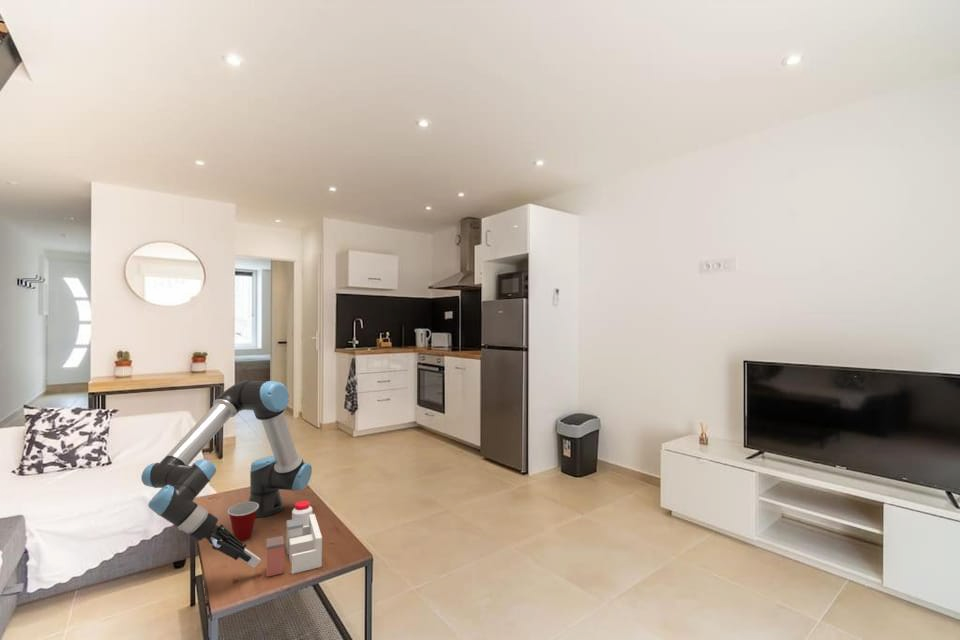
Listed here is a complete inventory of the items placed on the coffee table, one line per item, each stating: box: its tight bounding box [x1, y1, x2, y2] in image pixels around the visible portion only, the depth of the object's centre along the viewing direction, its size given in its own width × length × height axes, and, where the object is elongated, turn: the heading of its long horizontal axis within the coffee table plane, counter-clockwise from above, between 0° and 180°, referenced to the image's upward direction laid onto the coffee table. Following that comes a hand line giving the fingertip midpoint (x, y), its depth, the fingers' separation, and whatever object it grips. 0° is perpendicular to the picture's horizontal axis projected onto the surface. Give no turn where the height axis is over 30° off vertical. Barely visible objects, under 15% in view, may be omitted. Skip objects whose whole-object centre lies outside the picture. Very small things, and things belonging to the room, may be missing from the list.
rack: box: [288, 513, 323, 575], centre depth 155 cm, size 21×10×10 cm, turn 28°
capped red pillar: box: [265, 535, 285, 578], centre depth 146 cm, size 6×5×10 cm
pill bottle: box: [291, 500, 313, 526], centre depth 174 cm, size 8×8×11 cm
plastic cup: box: [227, 501, 259, 542], centre depth 168 cm, size 11×11×12 cm
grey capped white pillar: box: [285, 518, 303, 555], centre depth 159 cm, size 6×5×10 cm
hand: (257, 563), depth 143 cm, fingers closed
